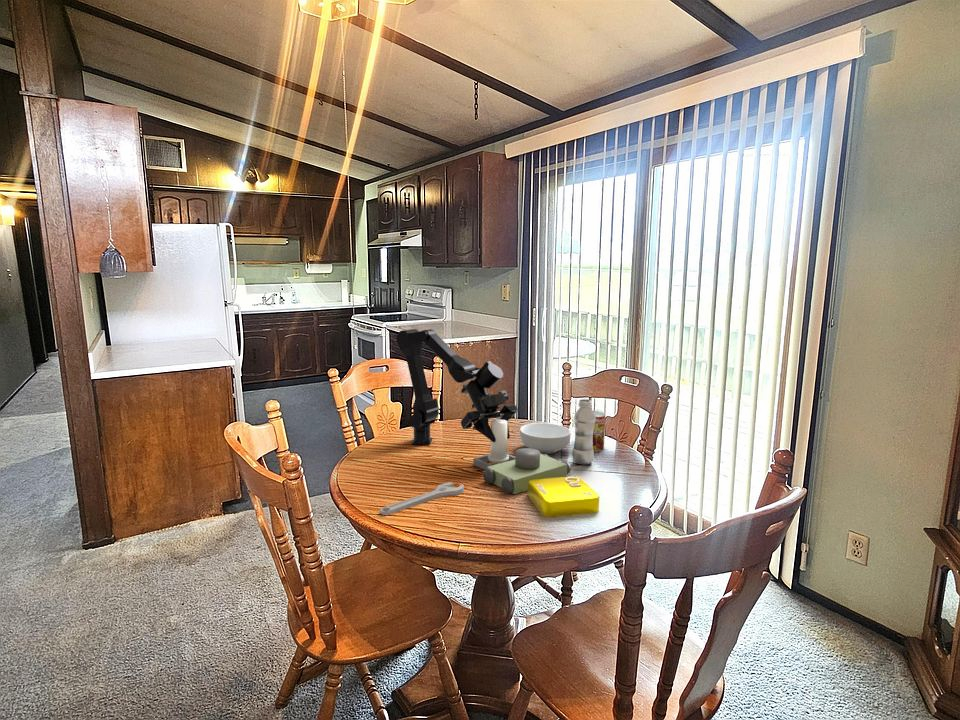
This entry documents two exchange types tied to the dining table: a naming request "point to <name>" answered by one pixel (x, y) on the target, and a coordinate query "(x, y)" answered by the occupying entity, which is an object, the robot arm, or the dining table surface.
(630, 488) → the dining table surface
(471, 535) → the dining table surface
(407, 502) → the adjustable wrench
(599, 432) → the canned food
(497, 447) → the white cylindrical piece
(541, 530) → the dining table surface
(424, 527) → the dining table surface
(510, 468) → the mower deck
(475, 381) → the robot arm
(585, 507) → the element tile
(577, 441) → the plastic bottle
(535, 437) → the cereal bowl
